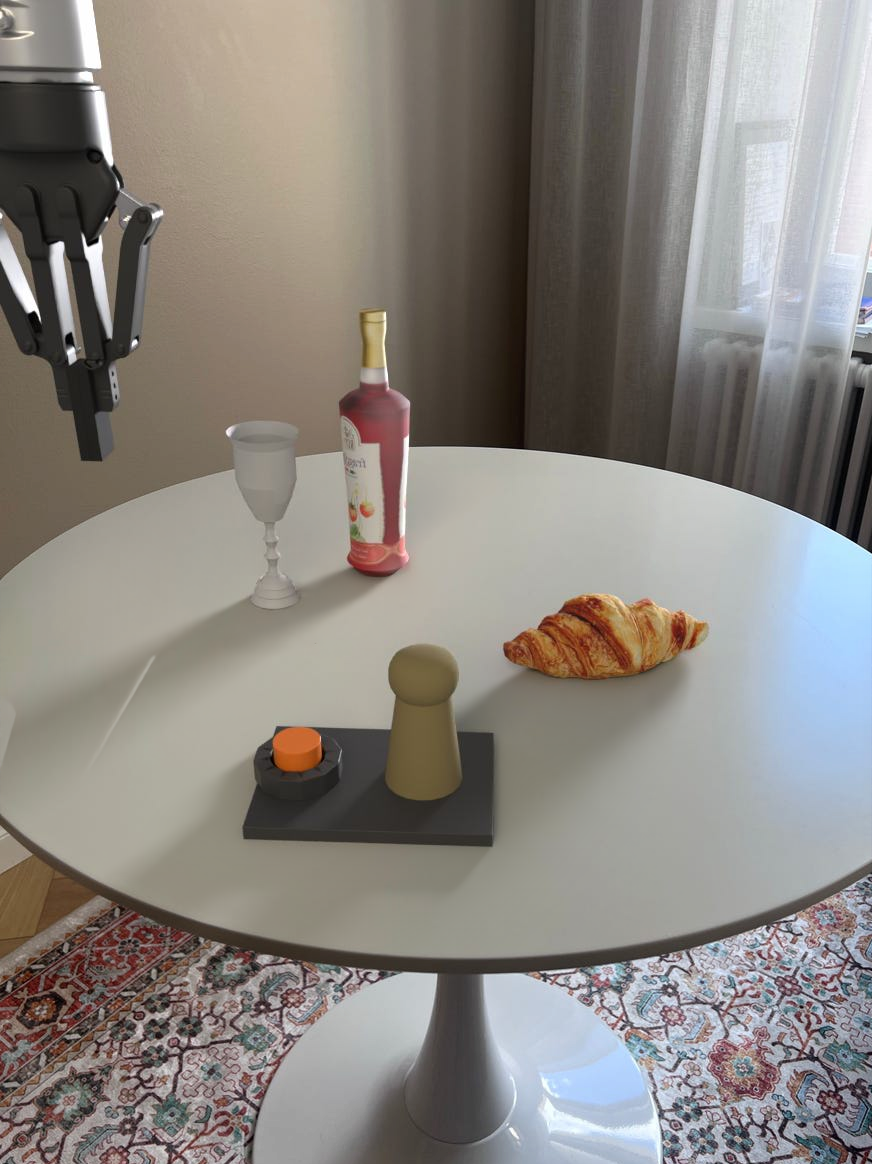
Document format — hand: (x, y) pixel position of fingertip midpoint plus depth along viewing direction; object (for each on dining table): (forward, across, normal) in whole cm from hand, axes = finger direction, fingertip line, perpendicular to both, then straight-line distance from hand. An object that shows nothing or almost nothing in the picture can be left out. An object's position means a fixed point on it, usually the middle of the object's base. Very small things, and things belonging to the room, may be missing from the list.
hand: (98, 454), depth 73 cm
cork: (+23, +24, -6) cm, 34 cm away
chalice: (+25, +6, +26) cm, 36 cm away
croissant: (+25, +40, +15) cm, 49 cm away
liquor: (+25, +16, +34) cm, 45 cm away
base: (+24, +20, -6) cm, 32 cm away
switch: (+22, +14, -6) cm, 27 cm away
